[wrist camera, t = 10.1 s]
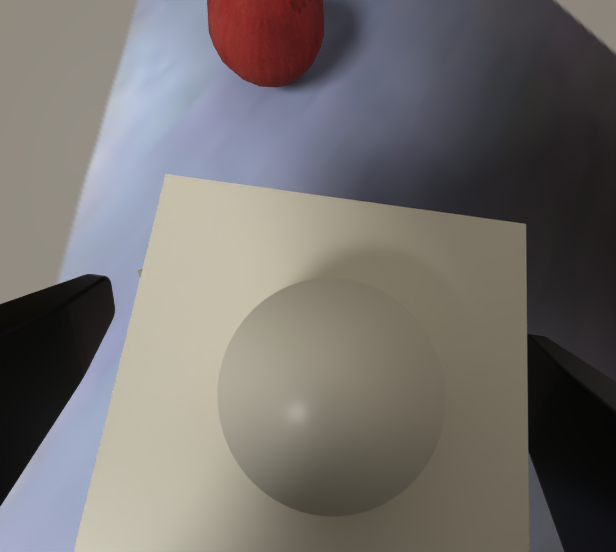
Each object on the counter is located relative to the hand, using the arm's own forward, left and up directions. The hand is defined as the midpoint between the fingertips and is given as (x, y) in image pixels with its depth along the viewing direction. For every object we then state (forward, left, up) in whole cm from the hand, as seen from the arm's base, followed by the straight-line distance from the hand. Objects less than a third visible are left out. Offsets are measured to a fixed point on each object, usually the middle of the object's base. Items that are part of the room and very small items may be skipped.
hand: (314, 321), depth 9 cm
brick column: (-1, +1, -8) cm, 8 cm away
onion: (+16, -4, -12) cm, 20 cm away
